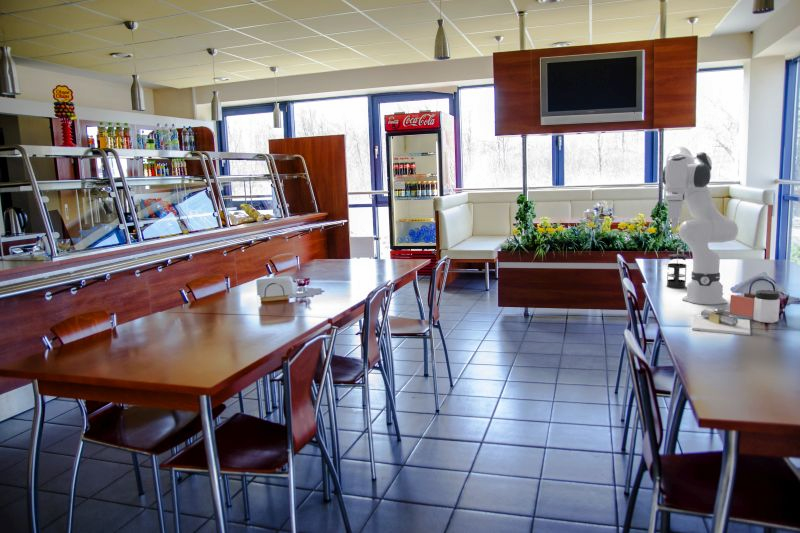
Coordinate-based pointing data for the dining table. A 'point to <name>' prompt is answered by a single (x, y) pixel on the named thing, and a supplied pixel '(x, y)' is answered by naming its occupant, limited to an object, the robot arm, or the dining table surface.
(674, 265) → the french press
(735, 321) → the valve body
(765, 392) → the dining table surface
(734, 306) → the lever
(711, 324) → the mounting plate
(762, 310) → the jar
